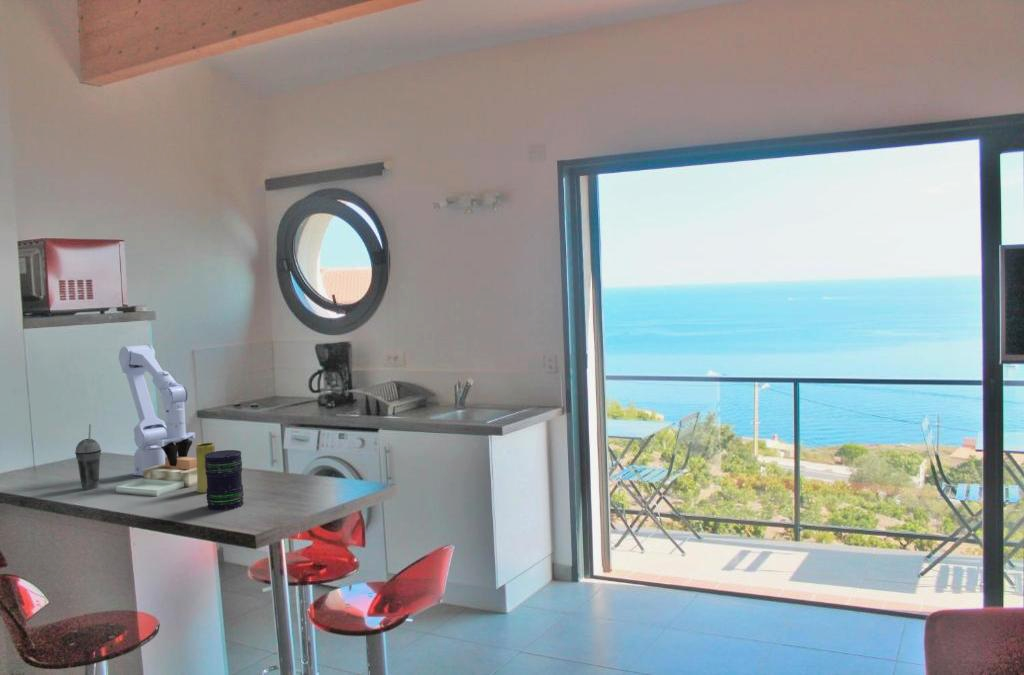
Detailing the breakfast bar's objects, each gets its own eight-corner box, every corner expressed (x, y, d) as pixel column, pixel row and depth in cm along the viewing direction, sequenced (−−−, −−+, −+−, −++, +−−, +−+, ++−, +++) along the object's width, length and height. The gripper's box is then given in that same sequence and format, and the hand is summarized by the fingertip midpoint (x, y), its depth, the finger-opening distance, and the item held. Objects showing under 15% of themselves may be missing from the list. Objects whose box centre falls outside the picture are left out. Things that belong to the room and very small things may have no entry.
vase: (210, 493, 239) (208, 446, 238) (192, 492, 240) (190, 446, 239) (222, 488, 244) (219, 442, 244) (204, 487, 246) (201, 442, 245)
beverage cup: (72, 489, 248) (68, 426, 247) (93, 484, 255) (90, 422, 254) (86, 491, 245) (82, 427, 244) (108, 486, 251) (104, 423, 250)
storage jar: (201, 506, 224) (198, 454, 223) (234, 499, 231) (231, 448, 230) (216, 513, 217) (213, 458, 216) (250, 505, 223) (247, 453, 223)
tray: (116, 492, 243) (116, 486, 243) (144, 484, 253) (144, 478, 253) (156, 496, 237) (156, 490, 237) (184, 487, 247) (183, 481, 247)
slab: (165, 466, 258) (165, 457, 258) (173, 464, 262) (173, 455, 261) (189, 469, 255) (189, 460, 255) (197, 467, 258) (197, 458, 258)
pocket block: (143, 483, 254) (142, 469, 254) (180, 472, 269) (180, 459, 268) (189, 487, 247) (188, 472, 247) (224, 475, 262) (224, 461, 262)
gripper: (168, 427, 250) (170, 469, 250) (201, 419, 263) (203, 460, 264) (151, 426, 252) (153, 468, 253) (184, 418, 266) (186, 459, 266)
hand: (177, 464), depth 259 cm, fingers closed on slab, 3 cm apart
